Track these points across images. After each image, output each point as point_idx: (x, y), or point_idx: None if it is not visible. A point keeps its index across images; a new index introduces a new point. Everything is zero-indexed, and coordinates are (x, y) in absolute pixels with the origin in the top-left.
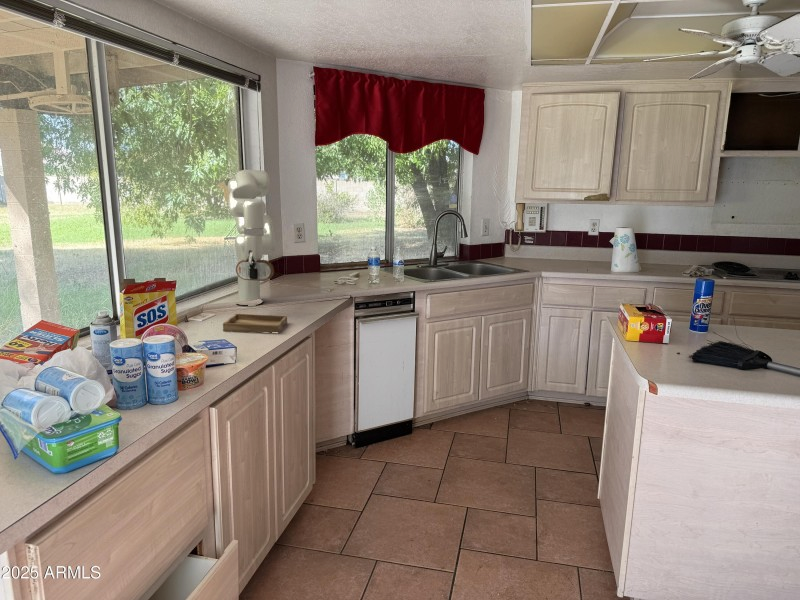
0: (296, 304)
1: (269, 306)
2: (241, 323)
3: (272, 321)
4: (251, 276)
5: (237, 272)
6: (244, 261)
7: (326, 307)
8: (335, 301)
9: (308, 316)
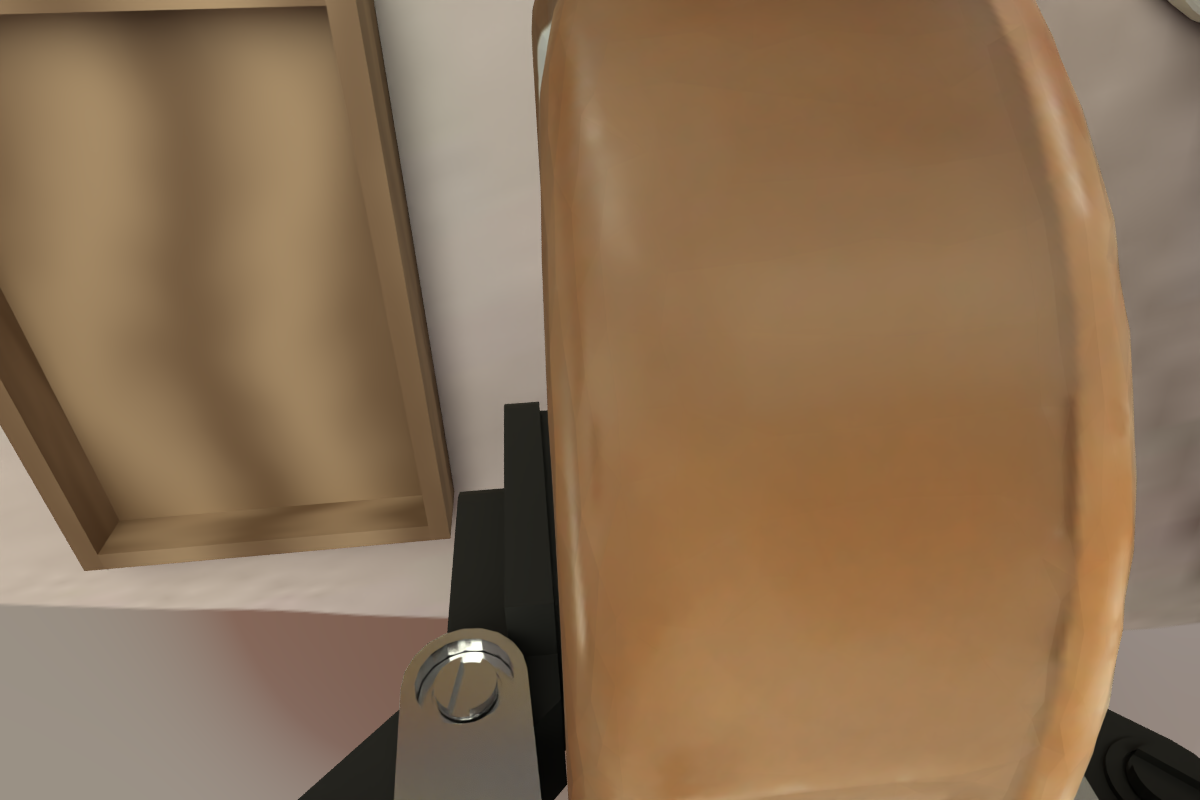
0: (1132, 380)
1: (1095, 149)
2: (171, 134)
3: (393, 408)
4: (459, 497)
5: (548, 19)
6: (572, 734)
7: None
8: (1171, 601)
9: None
